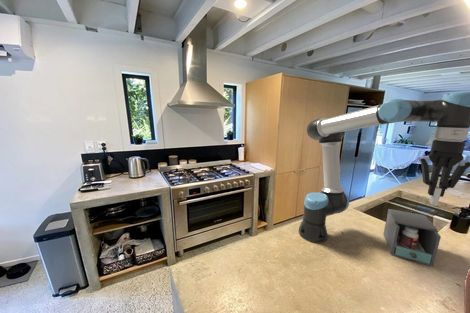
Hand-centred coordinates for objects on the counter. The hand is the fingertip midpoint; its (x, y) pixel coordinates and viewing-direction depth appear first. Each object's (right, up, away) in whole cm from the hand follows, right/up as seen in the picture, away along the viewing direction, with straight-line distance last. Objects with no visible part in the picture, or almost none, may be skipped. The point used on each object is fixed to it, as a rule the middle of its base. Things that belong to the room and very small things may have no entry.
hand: (433, 203), depth 70 cm
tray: (+13, -29, +25) cm, 40 cm away
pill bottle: (+12, -28, +24) cm, 39 cm away
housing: (+14, -29, +27) cm, 42 cm away
